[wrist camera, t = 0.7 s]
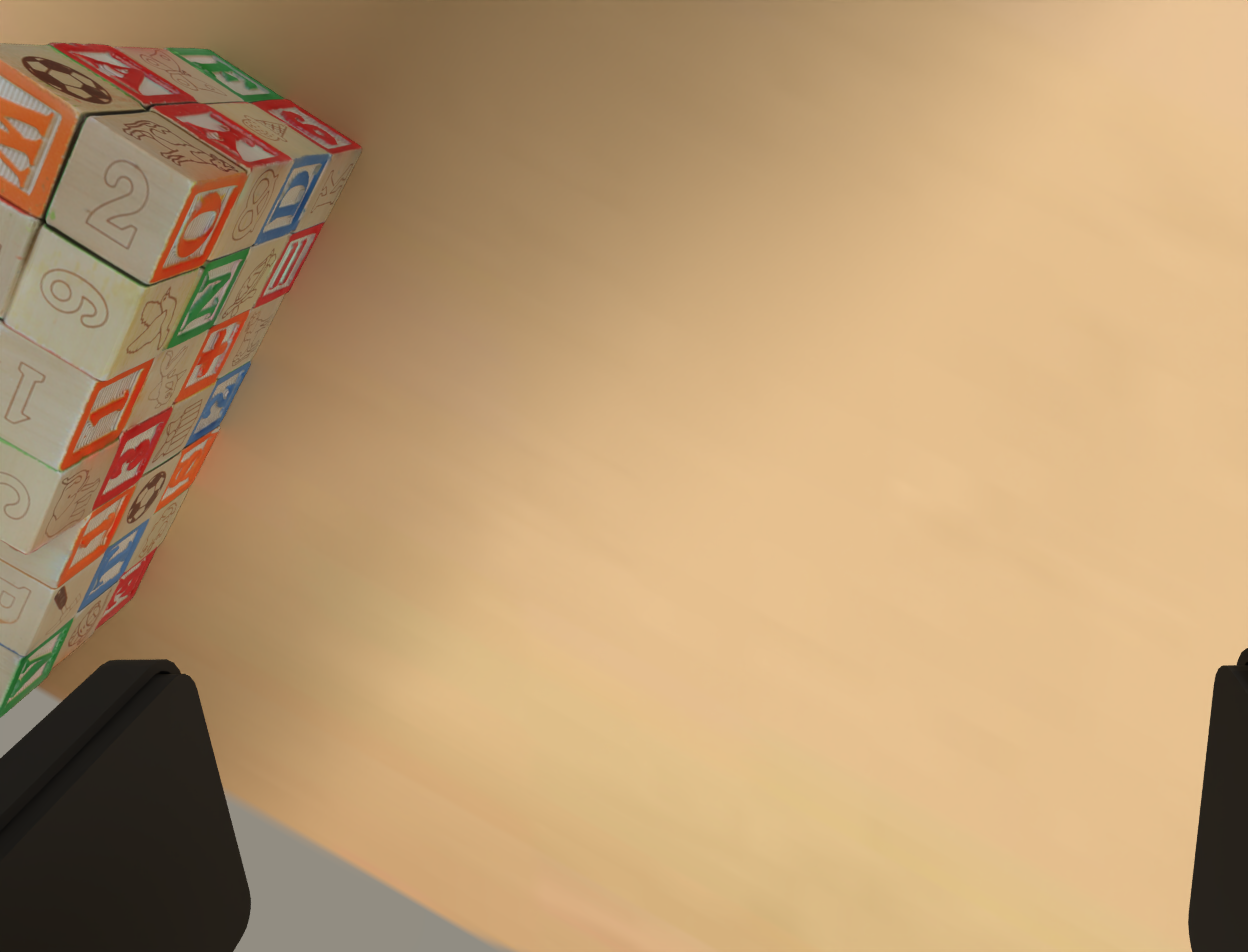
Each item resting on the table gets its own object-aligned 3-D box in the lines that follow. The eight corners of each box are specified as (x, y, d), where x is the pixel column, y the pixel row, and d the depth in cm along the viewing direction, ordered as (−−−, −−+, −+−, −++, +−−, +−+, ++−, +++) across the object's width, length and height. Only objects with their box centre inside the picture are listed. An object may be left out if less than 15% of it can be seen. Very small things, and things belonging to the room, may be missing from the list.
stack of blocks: (138, 601, 46) (-72, 781, 35) (2, 521, 46) (-256, 677, 34) (367, 143, 39) (194, 182, 27) (207, 40, 38) (-39, 36, 27)
